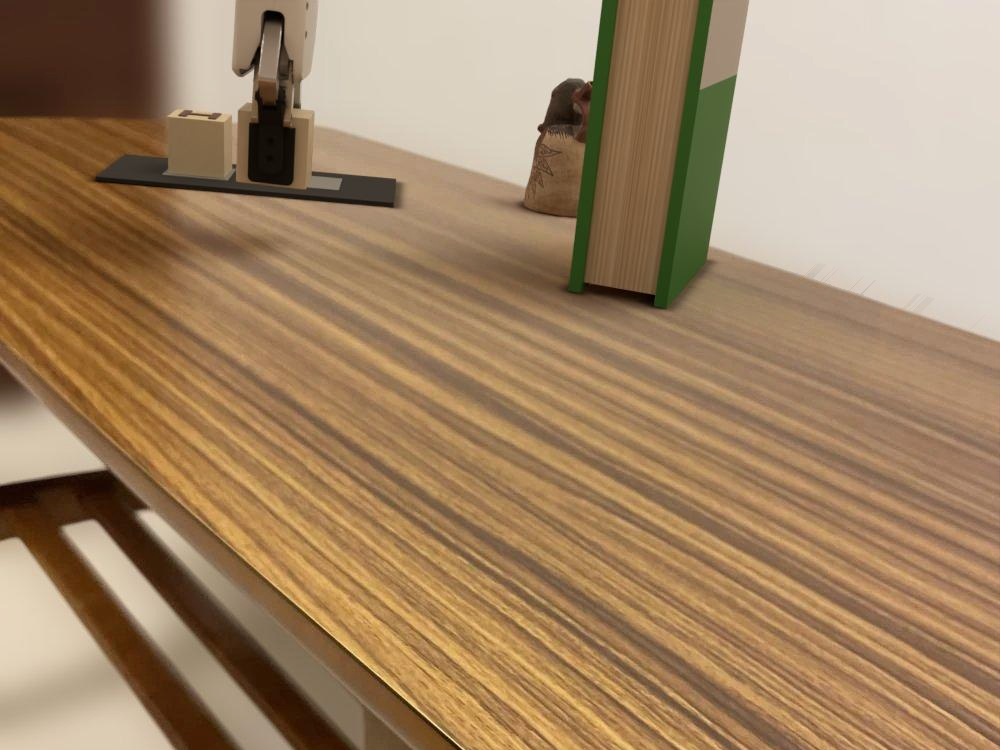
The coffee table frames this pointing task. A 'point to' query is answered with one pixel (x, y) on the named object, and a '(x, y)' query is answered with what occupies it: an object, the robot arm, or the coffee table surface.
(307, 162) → the tile
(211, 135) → the tile
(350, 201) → the word mat
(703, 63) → the hardback book
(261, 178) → the robot arm
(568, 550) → the coffee table surface
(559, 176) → the figurine
